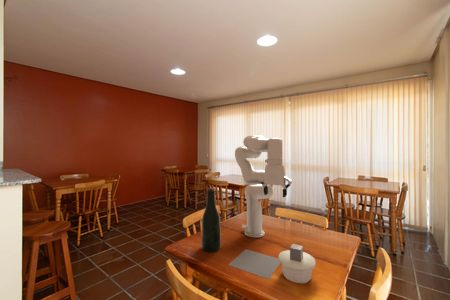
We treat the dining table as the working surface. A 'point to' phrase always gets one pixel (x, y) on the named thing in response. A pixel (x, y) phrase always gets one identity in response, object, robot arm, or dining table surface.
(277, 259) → the mat
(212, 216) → the green wine bottle
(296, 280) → the ramekin
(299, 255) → the lid
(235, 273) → the dining table surface
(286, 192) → the robot arm
